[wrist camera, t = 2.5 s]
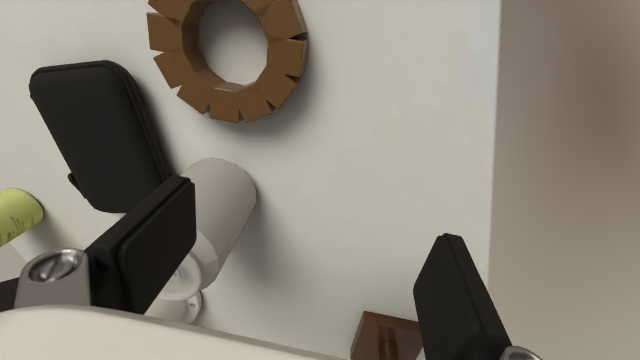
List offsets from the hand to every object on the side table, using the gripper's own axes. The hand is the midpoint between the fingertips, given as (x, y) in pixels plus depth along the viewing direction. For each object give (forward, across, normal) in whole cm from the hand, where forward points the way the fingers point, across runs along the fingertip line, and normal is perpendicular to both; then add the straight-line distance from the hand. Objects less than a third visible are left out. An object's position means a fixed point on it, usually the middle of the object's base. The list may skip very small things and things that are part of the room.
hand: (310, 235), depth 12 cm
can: (+17, +10, +10) cm, 22 cm away
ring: (+17, +9, -4) cm, 20 cm away
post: (+17, -12, +28) cm, 35 cm away
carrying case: (+17, +21, +7) cm, 28 cm away
